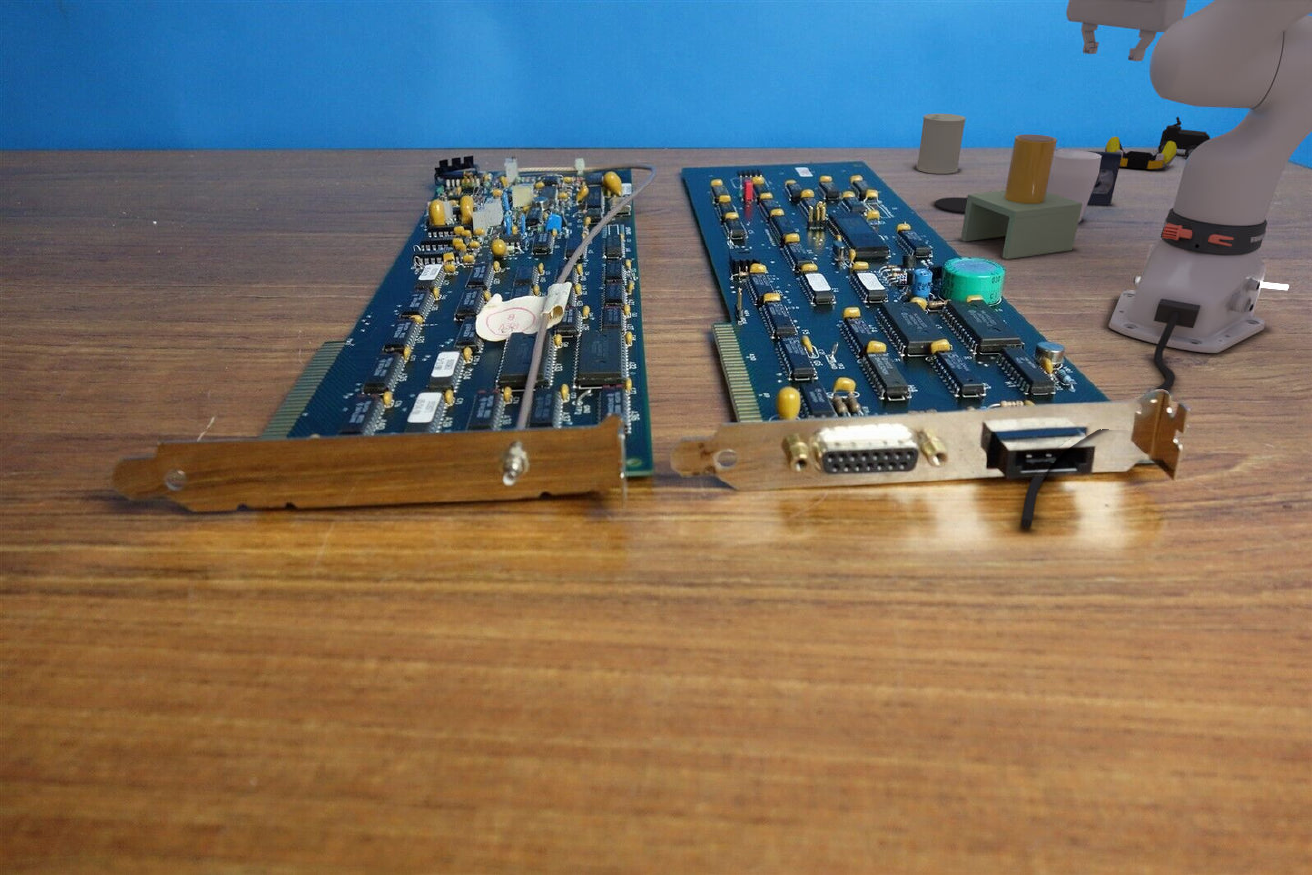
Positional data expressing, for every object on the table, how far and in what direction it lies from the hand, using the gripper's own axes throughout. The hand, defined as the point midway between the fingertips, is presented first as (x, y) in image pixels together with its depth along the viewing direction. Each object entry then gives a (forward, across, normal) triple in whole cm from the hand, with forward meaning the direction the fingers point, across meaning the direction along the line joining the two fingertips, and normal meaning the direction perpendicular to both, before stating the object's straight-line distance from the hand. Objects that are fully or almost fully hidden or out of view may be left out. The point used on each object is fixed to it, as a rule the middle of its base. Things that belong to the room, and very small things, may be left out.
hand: (1111, 57), depth 152 cm
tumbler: (+22, 0, -13) cm, 25 cm away
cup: (+30, -9, +7) cm, 32 cm away
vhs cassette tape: (+30, -19, +16) cm, 40 cm away
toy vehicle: (+31, -40, +78) cm, 93 cm away
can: (+31, -52, +12) cm, 62 cm away
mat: (+30, -24, -4) cm, 39 cm away
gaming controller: (+31, -37, +58) cm, 75 cm away
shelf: (+30, 0, -13) cm, 33 cm away
